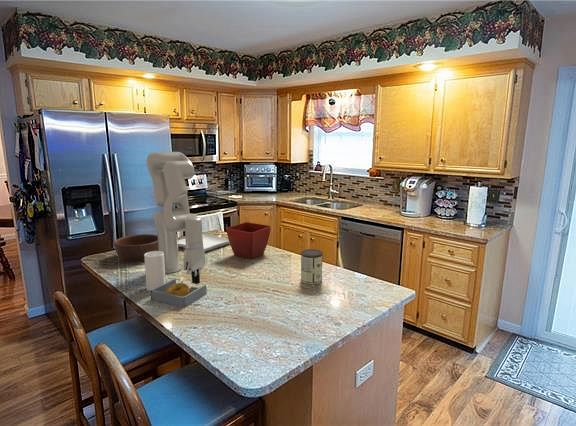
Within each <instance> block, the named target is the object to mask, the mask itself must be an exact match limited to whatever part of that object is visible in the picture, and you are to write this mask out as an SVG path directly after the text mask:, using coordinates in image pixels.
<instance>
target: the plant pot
mask: <svg viewBox="0 0 576 426" xmlns="http://www.w3.org/2000/svg"><path fill="white" fill-rule="evenodd" d="M271 228H272V225H266V224H261V223H255V222H249V221H248V222H247V221H245V222H241V223H237V224H235V225H232V226H228V227H226V228H225V230H226V235H227V239H229V245H230V248H231V250H232V253H233V255H234V256H235V257H240V258H244V259H249V260H252V259H254V258H257V257H259V256H261V255H263V254H264V253H265V250H266V248H267V245H268V242H269V238H270V234H271Z"/></svg>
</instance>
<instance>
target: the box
mask: <svg viewBox="0 0 576 426" xmlns="http://www.w3.org/2000/svg"><path fill="white" fill-rule="evenodd" d="M174 284H177V279H176V278H173V279H170V280H169V281H167V282H166V283H164V284H162V285H160V286H158V287H156V288H154V289H152V290H150V291H149V292H150V300H153V301H156V302H161V303H165V304H169V305H174V306H176V307H177V306H178V307H181V308H185V307H187V306H189V305H191V304H192V303H194V302H195V301H197V300H199V299H200V298H202V297H203V296H205V295H207V292H208V291H207V284H203V285H202V286H200V287H199V288H197V289H195V290H192V292H189V294H188V295H186V296H184V297H182V296H177V295H173V294H168V293H165V292H166V290H168V289H169V288H170V287H171V286H172V285H174Z"/></svg>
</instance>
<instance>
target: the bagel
mask: <svg viewBox="0 0 576 426" xmlns="http://www.w3.org/2000/svg"><path fill="white" fill-rule="evenodd" d="M190 291H191V290H190V287H189V285H188V284H186V283H182V282H176V284H174V285H172V286H171V287H170V288H169V289H168V290H166V292H165V293H168V294H173V295H177V296H182V297H184V296H186V295H188V294H189V293H191V292H190Z"/></svg>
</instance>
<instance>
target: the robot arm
mask: <svg viewBox="0 0 576 426" xmlns="http://www.w3.org/2000/svg"><path fill="white" fill-rule="evenodd" d="M146 167H147V170H148V173H149V175H150V177H151V182H152V187H153V196H154V201H155V204H156V206H158V207H162V208H163V209H160V210H158V211H156V212H155V214H154V219H153V220H154V224H155V227H156V233H157V236H158V249H159V251H161V252H163V253H164V264H165V274H172V273H177V272H179V271H181V270H182V269H183V270H184V271H186V274H187V275H190V276H191V284H194V285H199V284H200V283H201V280H200V279H201V271H202V270H203V268H205V265H206V255H205V252H204V247H203V234H204V232H203V219H202V218H201V217H200V216H197V215H196V214H194V213H190V204H189V197H188V188H187V184H186V179H192V178H193V177H194V175H195V167H194V165H193V162H192V161H191V160H190V159H189V158H188V157H187V156H186V155H185V154H184V153H182V152H180V151H157V152H156V151H155V152H152V153H149V154H148V155H147V157H146ZM173 206H176V207H175V208H173ZM180 232H184V239H185V241H186V248H184V253H183V265H182V264H180V263H179V246H178V235H177V233H180Z"/></svg>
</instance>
